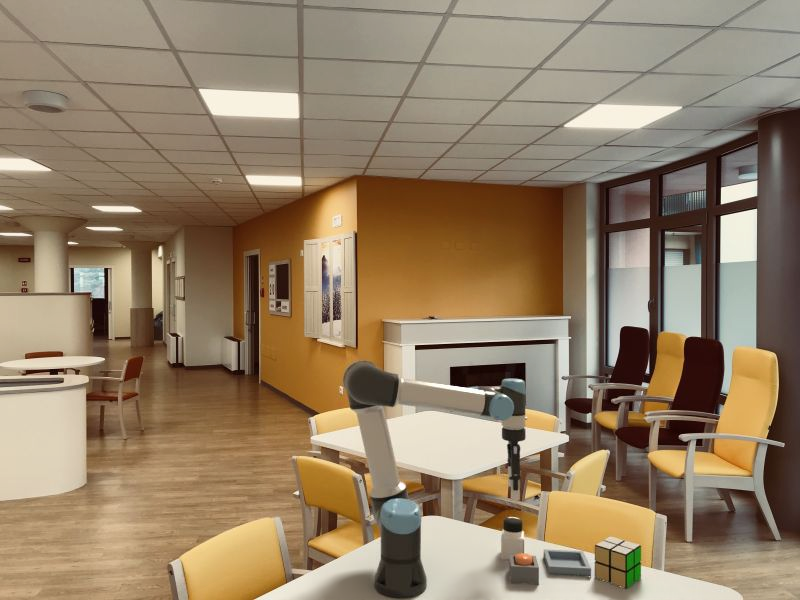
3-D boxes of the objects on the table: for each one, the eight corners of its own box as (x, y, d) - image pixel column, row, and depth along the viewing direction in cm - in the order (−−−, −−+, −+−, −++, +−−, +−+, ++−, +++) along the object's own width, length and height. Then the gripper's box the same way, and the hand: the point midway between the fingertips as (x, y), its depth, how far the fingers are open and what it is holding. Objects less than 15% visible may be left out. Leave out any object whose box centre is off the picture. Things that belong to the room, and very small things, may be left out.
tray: (548, 574, 184) (548, 566, 184) (543, 557, 197) (543, 549, 197) (591, 576, 183) (591, 568, 183) (583, 558, 195) (583, 551, 195)
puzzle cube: (609, 567, 190) (610, 535, 190) (641, 578, 182) (641, 545, 182) (593, 578, 183) (594, 544, 182) (626, 589, 175) (626, 554, 175)
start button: (515, 568, 180) (515, 560, 180) (514, 561, 185) (514, 553, 185) (533, 569, 180) (533, 560, 180) (531, 562, 185) (531, 553, 185)
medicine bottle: (524, 561, 193) (524, 523, 193) (501, 559, 195) (501, 522, 195) (524, 552, 200) (524, 516, 200) (501, 550, 202) (502, 514, 202)
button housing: (511, 583, 179) (511, 566, 179) (509, 570, 187) (509, 554, 187) (538, 584, 178) (538, 567, 178) (535, 572, 186) (535, 555, 186)
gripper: (529, 436, 184) (529, 506, 184) (522, 419, 209) (521, 481, 209) (504, 435, 185) (504, 505, 185) (499, 419, 210) (499, 480, 210)
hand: (513, 492), depth 197 cm, fingers open, 13 cm apart
